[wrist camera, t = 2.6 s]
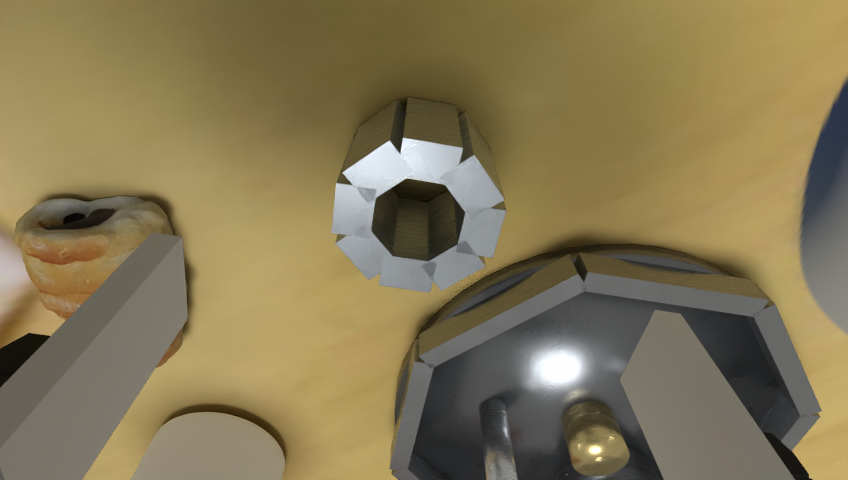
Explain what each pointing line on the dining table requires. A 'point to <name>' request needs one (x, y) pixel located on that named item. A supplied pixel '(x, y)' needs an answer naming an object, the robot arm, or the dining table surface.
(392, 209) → the gear
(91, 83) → the dining table surface
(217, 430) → the beverage can
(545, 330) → the tray
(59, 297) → the pastry
